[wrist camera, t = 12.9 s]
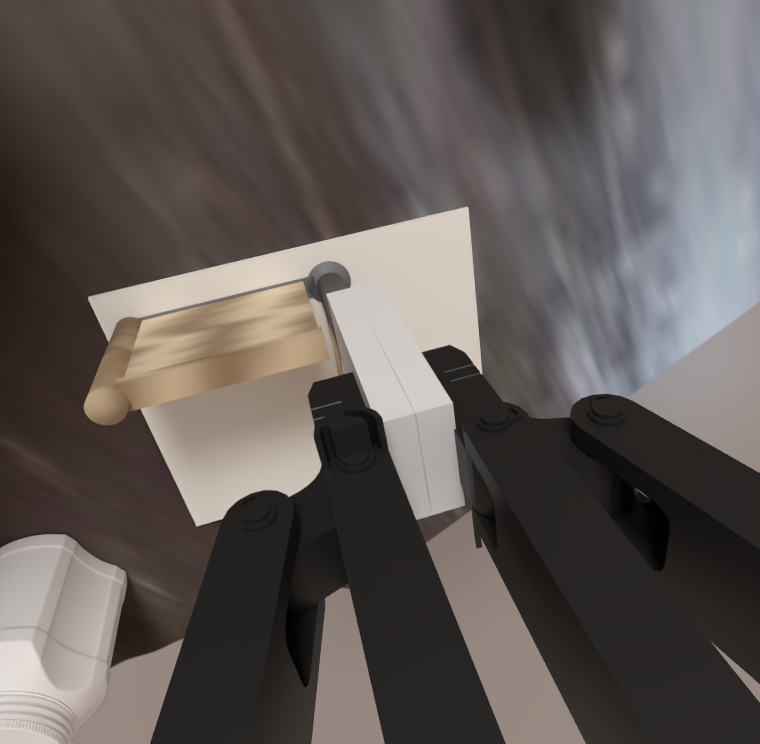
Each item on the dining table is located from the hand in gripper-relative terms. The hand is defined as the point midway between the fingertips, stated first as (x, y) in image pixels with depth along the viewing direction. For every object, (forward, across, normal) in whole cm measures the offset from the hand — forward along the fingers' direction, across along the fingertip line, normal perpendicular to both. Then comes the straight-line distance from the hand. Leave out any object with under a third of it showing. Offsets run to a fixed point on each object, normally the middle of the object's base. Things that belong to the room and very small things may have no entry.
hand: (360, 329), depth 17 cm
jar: (+25, -28, -29) cm, 47 cm away
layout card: (+24, -2, -16) cm, 29 cm away
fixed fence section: (+24, -7, -8) cm, 27 cm away
